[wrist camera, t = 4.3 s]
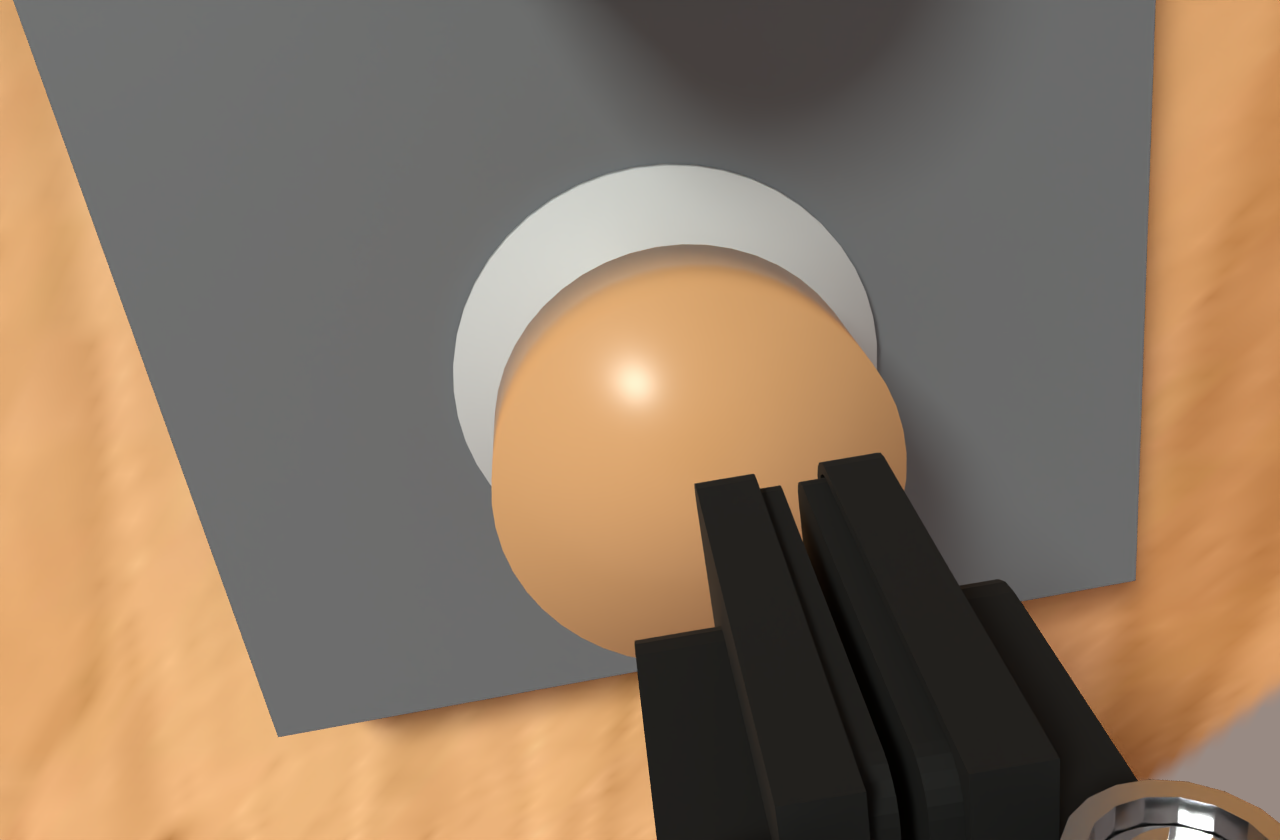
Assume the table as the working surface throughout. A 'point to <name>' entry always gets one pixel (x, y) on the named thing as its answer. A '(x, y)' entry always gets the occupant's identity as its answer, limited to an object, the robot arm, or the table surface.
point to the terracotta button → (667, 428)
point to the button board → (580, 241)
